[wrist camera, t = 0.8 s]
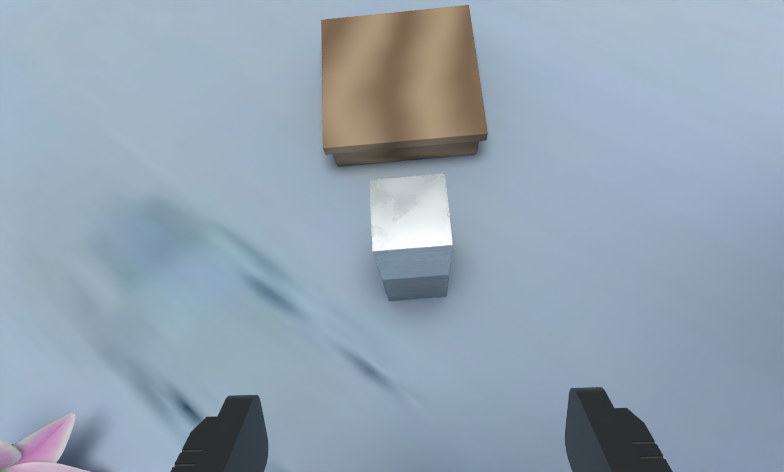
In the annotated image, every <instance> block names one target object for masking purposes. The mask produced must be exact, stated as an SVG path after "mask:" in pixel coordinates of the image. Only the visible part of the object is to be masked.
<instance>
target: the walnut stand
mask: <svg viewBox="0 0 784 472" xmlns="http://www.w3.org/2000/svg"><path fill="white" fill-rule="evenodd" d="M321 31H322V101H323V149H324V152H325V154H334V157H335V160H336V163H337V165H338V166H346V165H357V164H369V163H380V162H392V161H403V160H414V159H426V158H437V157H449V156H460V155H471V154H476V152H477V146H478V141H484V140H486V139H487V134H488V133H487V126H486V119H485V112H484V106H483V99H482V92H481V85H480V78H479V71H478V65H477V58H476V51H475V44H474V37H473V30H472V24H471V17H470V10H469V5H465V6H455V7H445V8H435V9H425V10H415V11H405V12H395V13H385V14H375V15H365V16H355V17H346V18H336V19H326V20H321Z"/></svg>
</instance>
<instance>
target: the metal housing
mask: <svg viewBox="0 0 784 472" xmlns="http://www.w3.org/2000/svg"><path fill="white" fill-rule="evenodd" d="M369 185H370V205H371V225H372V245H373V253H374V256H375V260H376V263H377V266H378V269H379V272H380V275H381V278H382V281H383V284H384V287H385V290H386V293H387V296H388V300H389V301H393V300H406V299H419V298H432V297H446V296H447V288H448V279H449V271H450V262H451V254H452V246H453V244H452V235H451V225H450V216H449V207H448V198H447V188H446V179H445V173H443V174H432V175H420V176H409V177H397V178H386V179H374V180H369Z"/></svg>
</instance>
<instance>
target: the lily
mask: <svg viewBox="0 0 784 472" xmlns="http://www.w3.org/2000/svg"><path fill="white" fill-rule="evenodd" d="M74 421H75V414H74V412H73V413H68V414H66V415H64V416H62V417H60V418H58V419H57V420H55V421H53V422H51V423H50V424H48V425H46V426H44V427H43V428H41V429H39V430H37V431H36V432H34V433H32V434H31V435H29V436H27V437H26V438H24V439H23V440H21V441H19V442H18V443H16V444H15V445H10V444H8V443H6V442H4V441H2V440H0V472H91V471H86V470H82V469H79V468H75V467H71V466H67V465H63V464H58V463H56V462H57V461H58V460H59V459H60V457H61V455H62V453H63V451H64V449H65V447H66V445H67V442H68V440H69V437H70V435H71V432H72V429H73V426H74Z"/></svg>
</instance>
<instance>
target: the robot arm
mask: <svg viewBox="0 0 784 472" xmlns="http://www.w3.org/2000/svg"><path fill="white" fill-rule="evenodd" d="M565 445H566V452H567V456H568V460H569V463H570V466H571V468H572V471H573V472H672V470H671V468H670V467H669V465H668V463H667V461H666V460H665V459H663V455H662V453H661V451H660V449H659V448H658V446H657V444H655V442H654V439H653V437H652V436H651V434H650V432H649V430H648V429H647V427H646V425H645V424H644V422H642V421H641V420H640V419H639V418H638V417H637V416H635V415H634V414H633V413H632V412H631V411H630V410H628V409H627V408H614V407H613V405H612V403H611V401H610V399H609V397H608V396H607V394H606V392H605V390H604V389H603V388H601V387H592V388H571V389H570V392H569V400H568V410H567V419H566V429H565ZM267 458H268V438H267V432H266V427H265V422H264V417H263V412H262V407H261V402H260V398H259V396H258V395H237V396H228V397H227V398H226V400H225V402H224V404H223V406H222V408H221V410H220V412H219V414H218V417H206V418H205V419H204V420H203V421H202V422H201V423H200V424H199V425H198V426H197V427H196V428H195V429H194V430H193V431H192V432H191V433H190V435H189V437H188V439H187V441H186V443H185V445H184V447H183V449H182V453H180V454H179V456H178V458H177V460H176V462H175V467H173V468H172V470H171V472H264V470H265V467H266V463H267Z"/></svg>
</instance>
